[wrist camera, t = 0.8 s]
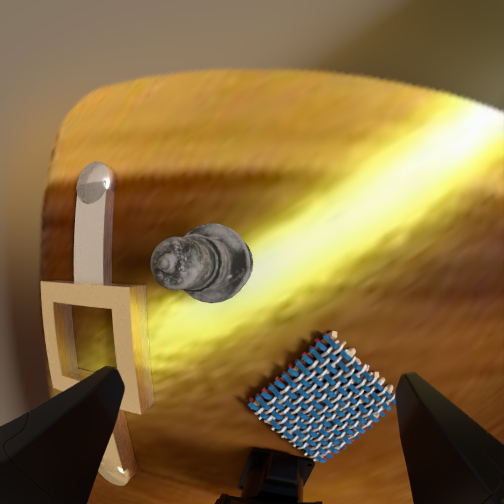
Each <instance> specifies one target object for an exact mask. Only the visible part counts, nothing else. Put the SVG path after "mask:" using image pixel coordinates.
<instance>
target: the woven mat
mask: <svg viewBox="0 0 504 504" xmlns="http://www.w3.org/2000/svg"><path fill="white" fill-rule="evenodd" d="M322 336H323V337H324V338H323V339H322V340H321V341H320V339H319V338H318V337H317V338H316V339H315V340H314V341H315V342H316V346H315V347H313V346H312V345H310V346H309V347H308V349H309V351H310V352H309V353H306V352H305V351H304V352H303V353H302V356H303V357H302V359H301V360H299V359H298V358H297V359H296V360H295V364H296V366H294V365H293V364H291V363H290V364H289V365H288V368H290V369H289V370H288V372H286V371H285V370H284V371H283V372H281V374H282V375H281V376H282V377H281V378H279V377H278V376H277V377H276V378H275V380H276V381H275V382H274V384H273V383H272V382H270V383H269V384H268V389H266V388H265V387H264V388H263V389H262V390H261V391H262V393H261V395H260V394H259V393H257V394H256V395H255V396H256V397H255V398H253V397H250V398H249V401H251V402H250V403H249V404H248V406H249V407H250V408H251V409H253V410H255V411H257V412H255V415H257V414H260V417H259V418H258V419H259V420H261V419H262V418H264V419H266V420H264V422H265V423H266V422H267V423H268V424H271V425H273V427H272V428H271V429H272V430H274V429H278V430H280V431H277V433H281V432H283V434H284V435H283V436H282V438H284V437H285V438H289V439H292V440H289V441H288V442H289V443H290V442H293V444H294V445H293V447H295V446H296V445H297V446H301V447H298V448H297V449H303V448H304V449H305V450H306V453H305V454H304V455H307V454H309V455H311V456H309V457H310V458H313V457H316V458H315V459H314V461H319V462H322V463H324V462H326V461H328V458H329V459H331V458H333V456H334V455H335V454H334V453H336V454H337V453H339V452H340V451H341V450H342V449H343V450H344V449H345V448H346V447H347V444H346V443H348V444H351V443H352V442H353V441H354V439H352V438H353V437H354V438H355V439H356V440H357V439H358V438H359V437H360V434H359V432H360V433H362V434H363V433H365V432H366V431H367V430H366V428H365V427H368V428H369V429H370V428H371V427H373V424H372V423H371V422H372V421H374V422H378V421H379V420H378V418H379V415H381V416H382V417H384V416H385V415H386V412H384V411H383V409H384V408H385V409H387V410H388V411H390V410H391V409H392V407H391V405H390V404H389V403H390V402H391V401H392V402H393V403H394V404H395V405H396V402H395V392H394V393H393V394H391V393H392V390H393V386H392V385H387V387H383V386H382V384H383V383H384V381H385V379H384V378H383V377H382V378H381V379H379V380H378V381H377V380H376V379H377V378H379V372H371V373H368V372H367V371H368V369H369V365H364V366H361V365H360V364H361V362H360V360H359V359H358V358H356V357H354V358H353V356H354V354H355V352H356V351H355V349H354V348H349V349H348V350H347V349H346V350H344V349H343V346H344V345H345V344H346V342H345V341H344V340H343V341H342V342H341V343H339V344H337V343H338V342H339V341H338V340H337V341H334V340H333V339H335V338H337V332H336V331H331V332H329V333H328V334H327V333H326V332H324V333H323V334H322ZM328 343H329V344H330V345H331V346H330V347H329V348H328V347H327V346H326V345H327V344H328ZM332 348H333V349H332ZM321 350H323V351H324V352H325V353H323V354H321V353H320V351H321ZM338 352H340V355H339V356H338V357H337V356H336V354H337V353H338ZM314 357H316V358H317V359H316V361H315V360H314V359H313V358H314ZM330 359H332V360H333V361H334V362H332V363H330V362H329V361H330ZM348 361H349V363H347V364H345V363H346V362H348ZM318 362H319V363H318ZM307 363H308V364H310V365H311V366H309V367H307V366H306V364H307ZM325 366H326V367H327V368H326V369H324V367H325ZM339 367H341V369H340V371H339V370H338V368H339ZM355 369H357V370H358V373H355V372H354V370H355ZM301 371H302V372H301ZM318 373H319V374H320V375H318V376H317V375H316V374H318ZM332 373H334V374H335V375H334V376H331V374H332ZM349 376H351V377H352V378H350V379H349V380H348V379H347V377H349ZM364 376H365V378H364ZM293 377H296V379H294V378H293ZM310 378H311V379H312V380H311V381H309V379H310ZM363 378H364V379H363ZM325 380H327V382H324V381H325ZM286 382H288V384H289V385H287V384H286ZM341 382H343V383H344V384H343V385H341ZM358 383H359V385H357V386H355V384H358ZM372 384H374V385H373V386H371V387H370V385H372ZM303 385H304V386H303ZM318 386H320V387H321V388H319V389H318V388H317V387H318ZM279 388H281V389H283V391H281V390H280V389H279ZM336 388H337V390H336V391H335V389H336ZM348 388H350V389H351V391H350V392H349V391H348V390H347V389H348ZM377 389H379V390H380V391H381V392H379V393H378V394H377V393H376V392H375V391H376V390H377ZM364 390H366V393H364ZM295 391H296V392H295ZM273 393H274V394H273ZM342 394H343V395H344V396H346V397H343V398H342V397H341V396H342ZM327 395H330V396H329V397H327ZM358 396H360V398H358V399H357V398H356V397H358ZM372 396H373V398H372ZM289 397H290V398H289ZM386 397H387V399H386V400H385V398H386ZM306 398H307V399H308V400H305V399H306ZM371 398H372V400H371ZM266 399H268V400H269V401H267V400H266ZM322 400H323V401H322ZM336 401H337V402H338V403H336ZM252 402H253V403H252ZM377 402H378V403H377ZM298 403H299V405H298ZM350 403H353V404H352V405H350ZM365 403H367V404H366V405H363V404H365ZM380 404H381V405H380ZM378 405H379V406H378ZM328 407H330V408H331V409H328ZM357 407H358V408H359V409H360V410H359V411H357V410H356V408H357ZM277 408H278V409H277ZM344 408H346V409H345V410H344ZM370 408H371V409H370ZM291 409H293V410H294V411H292V410H291ZM369 409H370V410H369ZM373 410H375V411H374V412H373ZM270 412H271V413H272V414H270ZM307 412H310V413H309V414H308V413H307ZM323 413H324V414H323ZM364 413H365V414H364ZM337 414H338V416H337ZM351 414H352V415H353V416H352V417H351V416H350V415H351ZM363 414H364V415H363ZM302 418H303V419H302ZM315 418H316V419H318V420H316V419H315ZM278 419H279V420H281V421H280V422H279V421H278ZM357 419H358V420H357ZM344 420H346V421H344ZM356 420H357V421H356ZM359 422H360V423H359ZM296 423H297V424H296ZM309 424H310V425H309ZM337 425H339V426H340V427H339V428H338V427H337ZM289 428H291V429H289ZM301 428H302V429H301ZM303 429H305V430H303ZM318 430H319V431H318ZM332 431H333V432H332ZM324 436H327V437H324ZM318 441H319V442H318ZM311 445H312V446H314V447H312V446H311ZM324 445H326V446H324ZM341 448H342V449H341ZM326 456H327V457H328V458H327V457H326Z"/></svg>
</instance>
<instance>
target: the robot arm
mask: <svg viewBox="0 0 504 504" xmlns="http://www.w3.org/2000/svg"><path fill="white" fill-rule="evenodd" d="M124 392H125V385H124V382H123V380H122V378H121V375H120V373H119V371H118V369H117V368H115V367H110V366H105V367H103V368H101V369H100V370H98V371H96V372H95V373H93V374H91V375H90V376H88V377H86V378H85V379H83V380H81V381H80V382H78V383H76V384H75V385H73V386H71V387H70V388H68V389H66V390H65V391H63V392H61V393H59V394H58V395H56V396H54V397H53V398H51V399H49V400H48V401H46V402H44V403H43V404H41V405H39V406H37V407H36V408H34V409H32V410H30V411H29V412H27V413H25V414H23V415H22V416H20V417H18V418H16V419H14V420H12V421H11V422H9V423H6V424H4V425H2V426H0V504H87V502H88V499H89V496H90V493H91V490H92V487H93V484H94V481H95V478H96V475H97V473H98V470H99V467H100V464H101V462H102V459H103V456H104V454H105V451H106V448H107V446H108V443H109V440H110V438H111V435H112V433H113V430H114V427H115V424H116V421H117V417H118V413H119V410H120V406H121V402H122V399H123V395H124ZM395 402H396V408H397V416H398V423H399V432H400V439H401V444H402V448H403V452H404V457H405V461H406V466H407V471H408V475H409V480H410V486H411V491H412V497H413V502H414V504H504V444H502V443H501V442H500V441H499V440H497V439H496V438H495V437H494V436H492V435H491V434H490V433H487V431H486V430H485V429H484V428H483V427H481V426H480V425H479V424H478V423H476V422H475V421H474V420H473V419H472V418H470V417H469V416H468V415H467V414H466V413H464V412H463V411H462V410H461V409H459V408H458V407H457V406H456V405H455V404H453V403H452V402H451V401H450V400H448V399H447V398H446V397H445V396H444V395H442V394H441V393H440V392H439V391H437V390H436V389H435V388H434V387H433V386H431V385H430V384H429V383H428V382H426V381H425V380H424V379H423V378H422V377H420V376H419V375H418V374H417V373H415V372H409V373H404V374H402V375H401V377H400V380H399V383H398V386H397V388H396V391H395ZM254 452H257V454H256V453H254ZM308 463H312V464H308ZM314 466H315V461H314V460H313V459H308V458H302V457H297V456H292V455H287V454H282V453H277V452H271V451H267V450H263V449H259V448H253V449H251V451H250V454H249V457H248V460H247V463H246V466H245V469H244V471H243V474H242V477H241V480H240V482H239V485H238V488H239V489H240V490H242V494H241V497H235V496H228V494H222V495H221V496H220V498H219V499H217V501H216V502H215V504H322V501H321V502H303V487H304V485H305V483H306V481H307V479H308V477H309V475H310V474H311V472H312V470H313V468H314ZM242 486H244V487H242Z"/></svg>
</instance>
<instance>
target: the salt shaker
mask: <svg viewBox="0 0 504 504" xmlns="http://www.w3.org/2000/svg"><path fill="white" fill-rule="evenodd" d="M252 268H253V259H252V254H251V251H250V249H249V247H248V246H247V244H246V243H245V242H244V241H243V239H242V238H241V237H240V236H239V235H238V233H236V232H235V231H233V230H232V229H230V228H229V227H226V226H223V225H221V224H211V223H209V224H204V225H200V226H198V227H196V228H194V229H192V230H190V231H189V232H188V233H187V234H186V235H185V236H184V237H171V238H168V239H166V240H164V241H162V242H161V243H160V244H159V245H157V247H156V248H155V250H154V251H153V254H152V257H151V271H152V274H153V276H154V278H155V279H156V281H157V282H158V283H159V284H160V285H162V286H163V287H165V288H168V289H171V290H181V289H182V290H184V291H185V292H186V293H188V294H189V295H190V296H191V297H193V298H195V299H197V300H199V301H202V302H208V303H217V302H223V301H225V300H227V299H230V298H232V297H233V296H234V295H235V294H237V293H238V292H239V291H240V290H241V288H242V287H243V286H244V285H245V284H246V282H247V281H248V279H249V278H250V275H251V272H252Z"/></svg>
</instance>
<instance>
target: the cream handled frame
mask: <svg viewBox="0 0 504 504" xmlns="http://www.w3.org/2000/svg"><path fill="white" fill-rule="evenodd" d="M116 186H117V177H116V173H115V171H114V170H113V169H112V168H111V167H109V166H107V165H105V164H103V163H101V162H93V163H91V164H89V165H87V166H86V167H85V168H84V169H83V171H82V172H81V174H80V176H79V178H78V182H77V202H76V215H75V234H74V281H63V280H54V281H60V282H75V283H91V284H108V285H128V286H138V295H139V318H140V334H141V348H142V359H143V369H144V378H145V386H146V394H147V402H148V408H149V407H150V406H151V405H152V404H153V403H155V399H154V391H153V382H152V373H151V363H150V351H149V338H148V322H147V299H146V285H137V284H115V283H112V226H113V207H114V193H115V190H116ZM63 317H64V328H65V338H66V346H67V353H68V360H69V367H70V372H73V373H76V374H79V375H83V376H87V377H88V376H90V375H91V374H93V373H94V372H91V371H87V370H83V369H79V368H78V363H77V356H76V348H75V340H74V330H73V319H72V305H71V304H65V303H63Z"/></svg>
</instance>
